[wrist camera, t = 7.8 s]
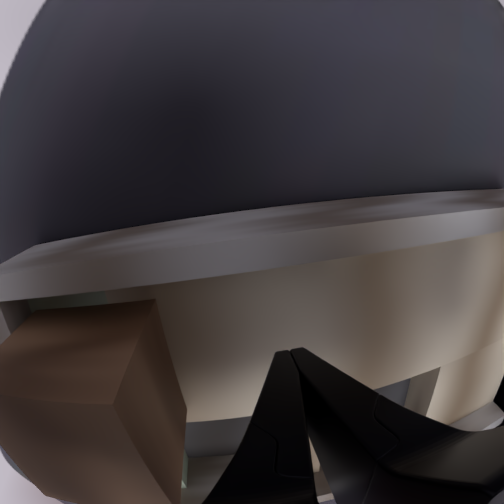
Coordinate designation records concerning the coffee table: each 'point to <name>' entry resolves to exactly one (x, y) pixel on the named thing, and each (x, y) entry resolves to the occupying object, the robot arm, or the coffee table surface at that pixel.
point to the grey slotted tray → (299, 305)
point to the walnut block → (94, 405)
